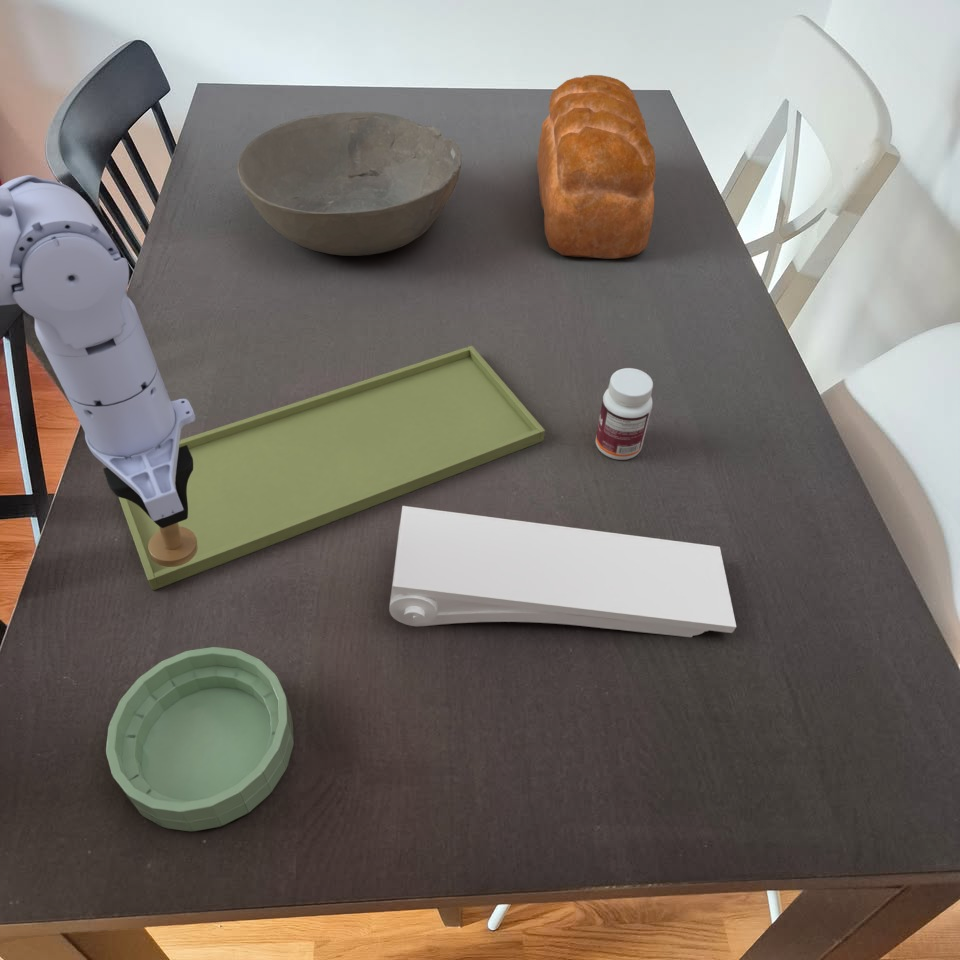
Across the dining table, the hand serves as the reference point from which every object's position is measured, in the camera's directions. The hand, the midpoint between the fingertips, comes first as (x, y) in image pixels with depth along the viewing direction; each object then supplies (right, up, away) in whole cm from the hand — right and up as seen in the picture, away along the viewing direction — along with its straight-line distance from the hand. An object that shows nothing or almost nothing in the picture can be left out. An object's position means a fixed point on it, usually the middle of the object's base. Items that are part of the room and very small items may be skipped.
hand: (170, 511), depth 63 cm
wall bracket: (+30, -7, +9) cm, 32 cm away
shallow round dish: (+4, -17, -2) cm, 18 cm away
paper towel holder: (-1, -3, +3) cm, 4 cm away
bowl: (+7, +36, +48) cm, 60 cm away
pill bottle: (+37, +6, +21) cm, 43 cm away
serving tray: (+9, +5, +19) cm, 21 cm away
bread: (+38, +40, +53) cm, 76 cm away
